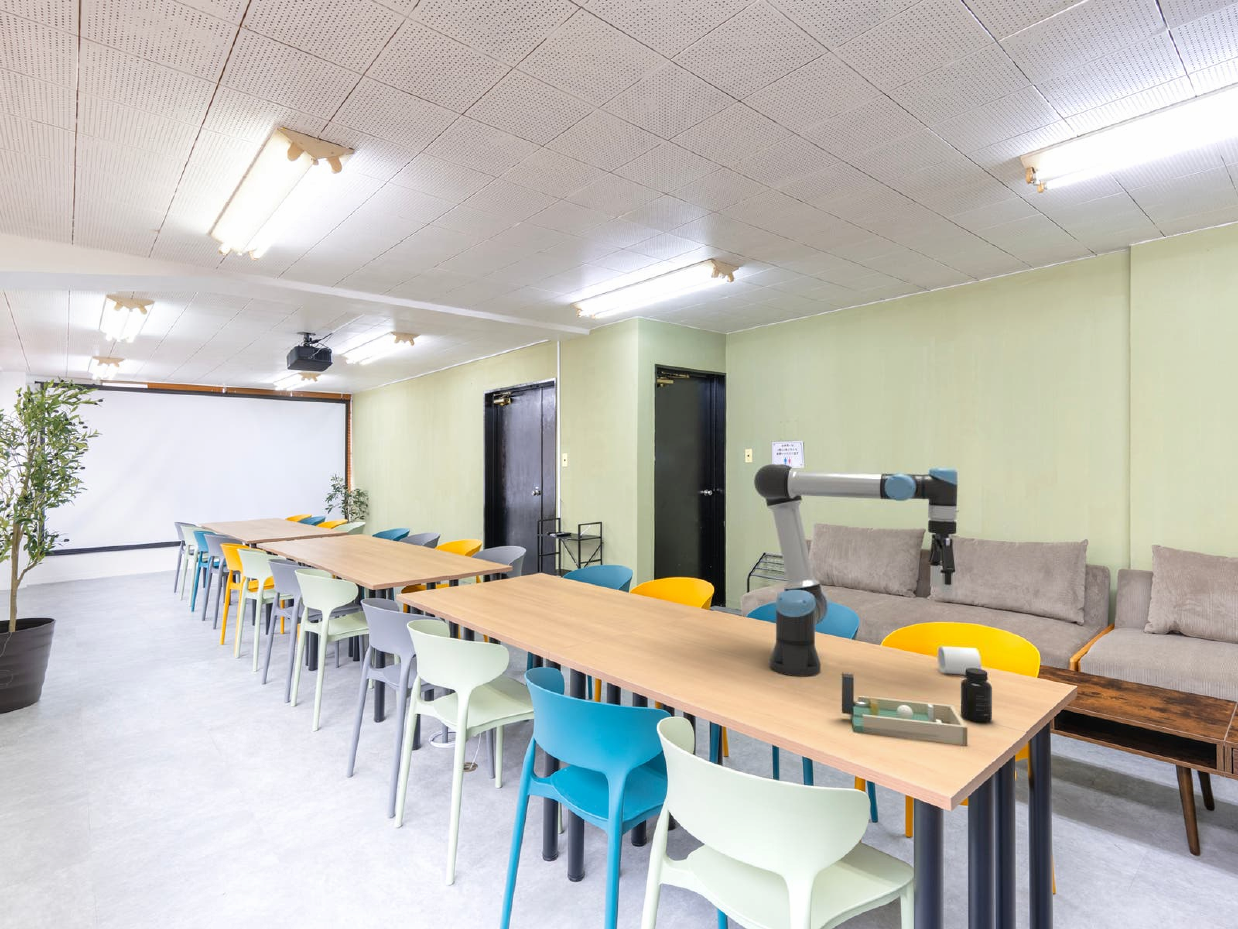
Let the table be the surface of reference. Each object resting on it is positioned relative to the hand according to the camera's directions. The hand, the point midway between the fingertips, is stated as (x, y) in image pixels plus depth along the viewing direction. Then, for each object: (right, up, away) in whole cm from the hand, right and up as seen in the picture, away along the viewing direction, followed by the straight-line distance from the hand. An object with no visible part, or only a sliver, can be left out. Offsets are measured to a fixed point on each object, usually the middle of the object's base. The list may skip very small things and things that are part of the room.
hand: (940, 591), depth 187 cm
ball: (-27, -22, -35) cm, 50 cm away
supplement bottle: (-7, -26, -30) cm, 40 cm away
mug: (+9, -27, +7) cm, 29 cm away
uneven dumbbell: (-37, -24, -32) cm, 54 cm away
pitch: (-27, -26, -35) cm, 51 cm away
